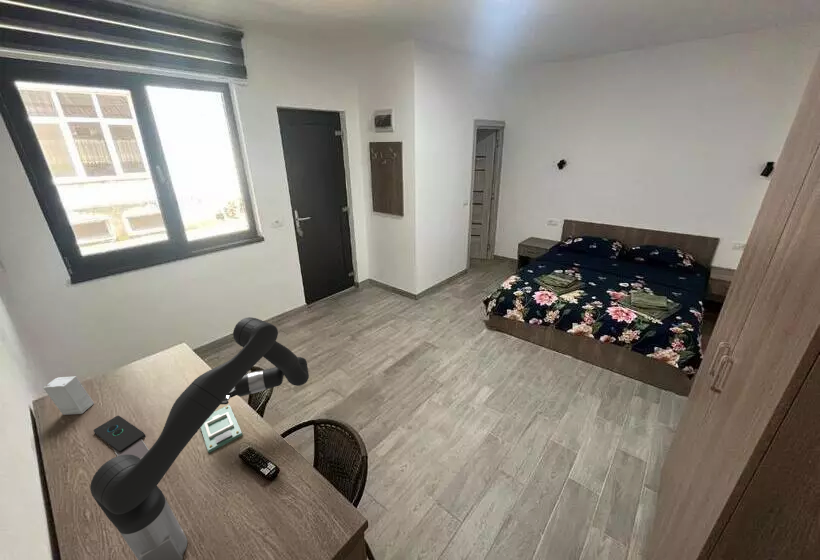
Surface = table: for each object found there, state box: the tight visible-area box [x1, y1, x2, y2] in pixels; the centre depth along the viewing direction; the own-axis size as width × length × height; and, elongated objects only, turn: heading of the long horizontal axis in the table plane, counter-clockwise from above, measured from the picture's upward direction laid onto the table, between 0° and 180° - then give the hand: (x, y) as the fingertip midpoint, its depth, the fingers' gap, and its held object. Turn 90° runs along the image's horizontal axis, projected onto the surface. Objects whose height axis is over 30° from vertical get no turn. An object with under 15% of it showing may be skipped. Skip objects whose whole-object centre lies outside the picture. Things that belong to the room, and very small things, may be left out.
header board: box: [200, 404, 243, 454], centre depth 119 cm, size 18×11×2 cm, turn 40°
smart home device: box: [93, 415, 146, 452], centre depth 118 cm, size 8×2×20 cm
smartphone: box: [112, 439, 150, 459], centre depth 113 cm, size 7×1×15 cm
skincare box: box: [43, 375, 95, 416], centre depth 127 cm, size 8×6×15 cm
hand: (198, 396), depth 112 cm, fingers closed on rook chess piece, 3 cm apart
